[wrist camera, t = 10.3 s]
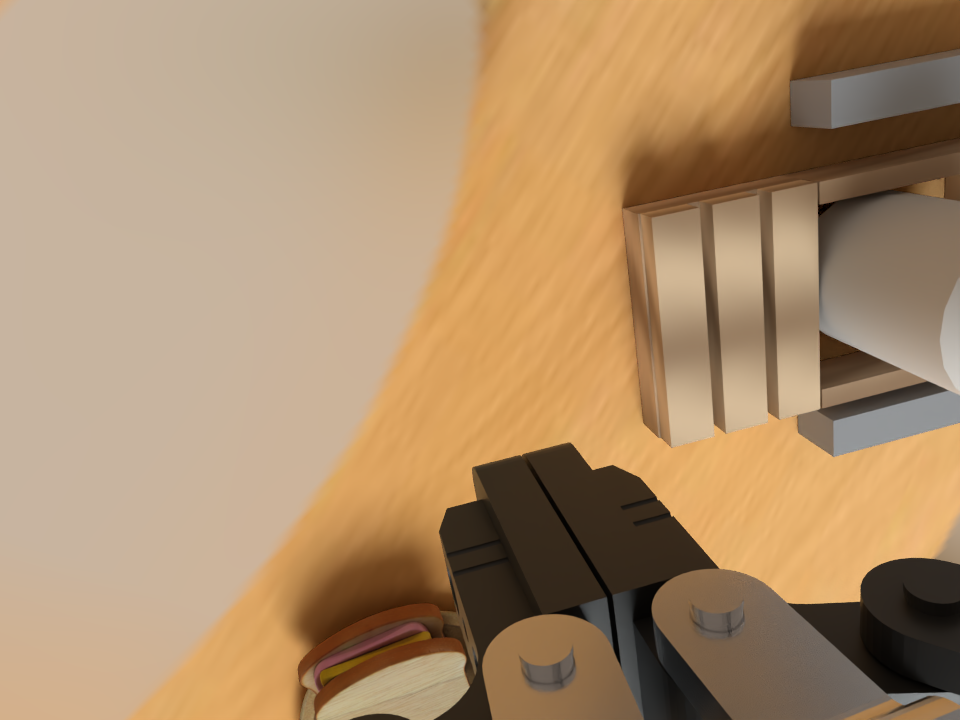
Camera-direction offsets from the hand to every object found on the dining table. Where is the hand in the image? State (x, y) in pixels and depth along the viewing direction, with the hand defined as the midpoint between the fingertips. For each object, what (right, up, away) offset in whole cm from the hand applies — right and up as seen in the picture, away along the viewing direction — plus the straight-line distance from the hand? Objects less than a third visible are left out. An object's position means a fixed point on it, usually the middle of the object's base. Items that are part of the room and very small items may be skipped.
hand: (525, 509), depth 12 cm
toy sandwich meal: (-5, -16, +31) cm, 35 cm away
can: (+18, +7, +28) cm, 34 cm away
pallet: (+15, +6, +28) cm, 32 cm away
